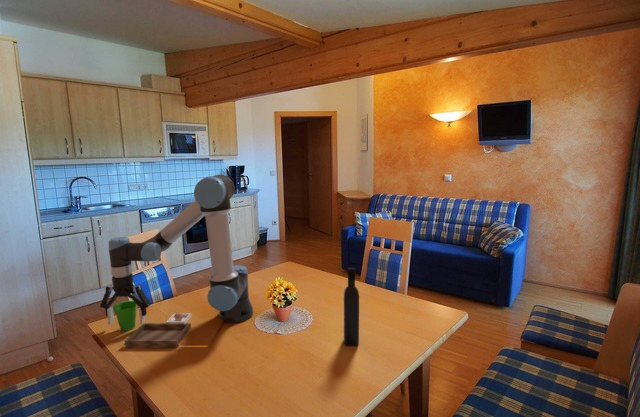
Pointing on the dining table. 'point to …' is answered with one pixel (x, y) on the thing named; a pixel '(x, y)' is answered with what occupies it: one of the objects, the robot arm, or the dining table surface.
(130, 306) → the cup
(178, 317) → the ball
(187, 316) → the dish
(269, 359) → the dining table surface
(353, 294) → the wine bottle
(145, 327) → the tray
